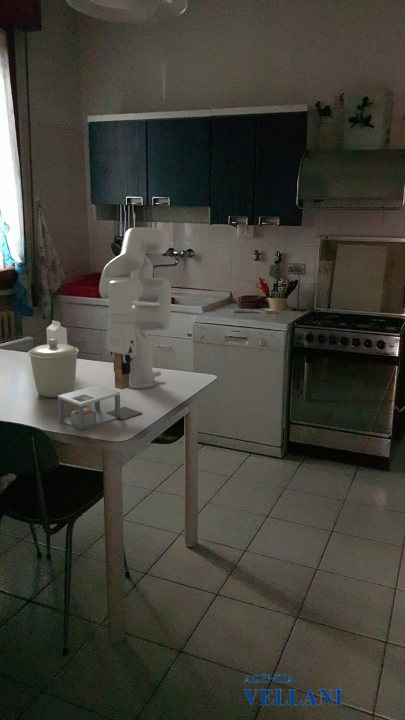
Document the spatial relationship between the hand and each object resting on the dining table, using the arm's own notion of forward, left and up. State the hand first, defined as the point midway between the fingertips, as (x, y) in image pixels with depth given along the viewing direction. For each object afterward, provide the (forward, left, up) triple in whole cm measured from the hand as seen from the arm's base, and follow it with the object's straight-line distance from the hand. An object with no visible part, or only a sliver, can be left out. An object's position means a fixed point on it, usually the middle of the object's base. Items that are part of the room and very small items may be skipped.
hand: (122, 372), depth 195 cm
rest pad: (0, 0, -15) cm, 15 cm away
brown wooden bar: (0, 0, -5) cm, 5 cm away
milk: (-15, -59, -15) cm, 63 cm away
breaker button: (+15, -2, -14) cm, 20 cm away
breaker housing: (+11, -4, -15) cm, 19 cm away
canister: (+3, -35, -15) cm, 38 cm away
